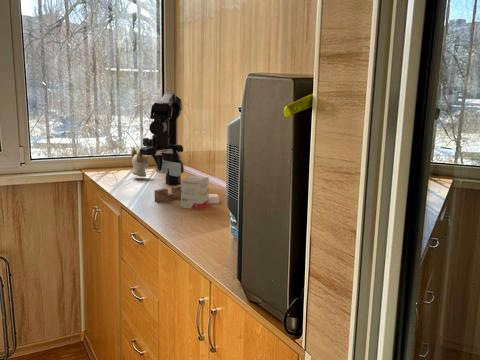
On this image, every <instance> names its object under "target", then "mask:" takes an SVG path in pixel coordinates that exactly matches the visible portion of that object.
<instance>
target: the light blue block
mask: <svg viewBox="0 0 480 360" xmlns="http://www.w3.org/2000/svg"><path fill="white" fill-rule="evenodd" d="M168 169H169V175H172V176H176V177H177V176H182V173H181V163H175V162H170V161H165V160H162V168H161V171H159V170H158V168H157V165H156V164H155V171H156V172H155V173H159V174H164V175H165V174H166V173H168Z"/></svg>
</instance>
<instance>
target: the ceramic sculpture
mask: <svg viewBox="0 0 480 360" xmlns="http://www.w3.org/2000/svg"><path fill="white" fill-rule="evenodd" d="M130 154H131V163H132V167H133V168H132V170H131V173H132V175H134V176H137V177H140V178H147V172H146V169H147V168H148V167H149V164H150V162H149V161H148V157H147V155H142V154H140V150H139V151H138V152H137V150H136V149H135V146H133V147H132V149H131V153H130Z"/></svg>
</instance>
